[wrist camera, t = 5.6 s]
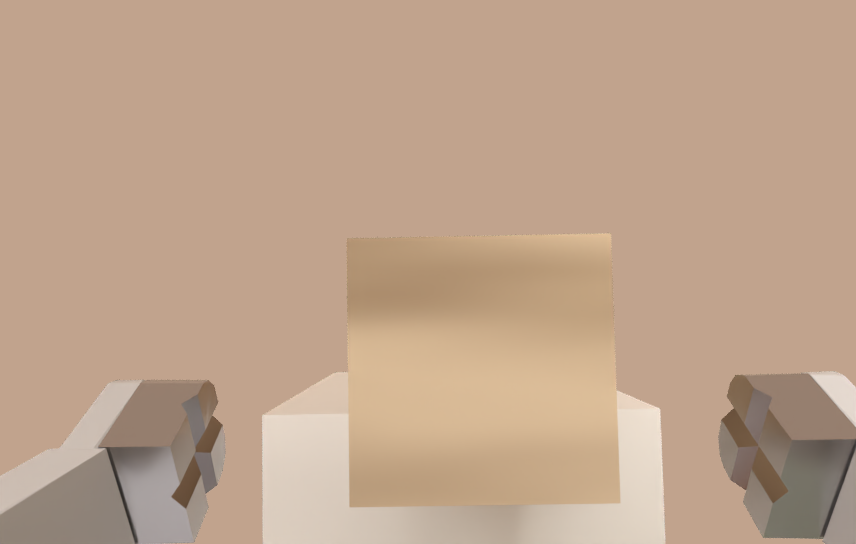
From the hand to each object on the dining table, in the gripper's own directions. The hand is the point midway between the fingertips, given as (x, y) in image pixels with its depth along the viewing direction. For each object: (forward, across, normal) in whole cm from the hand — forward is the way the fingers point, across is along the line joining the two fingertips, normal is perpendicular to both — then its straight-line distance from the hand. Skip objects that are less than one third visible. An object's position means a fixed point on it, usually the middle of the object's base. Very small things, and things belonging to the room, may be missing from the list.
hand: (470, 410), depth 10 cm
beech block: (+7, 0, +5) cm, 9 cm away
